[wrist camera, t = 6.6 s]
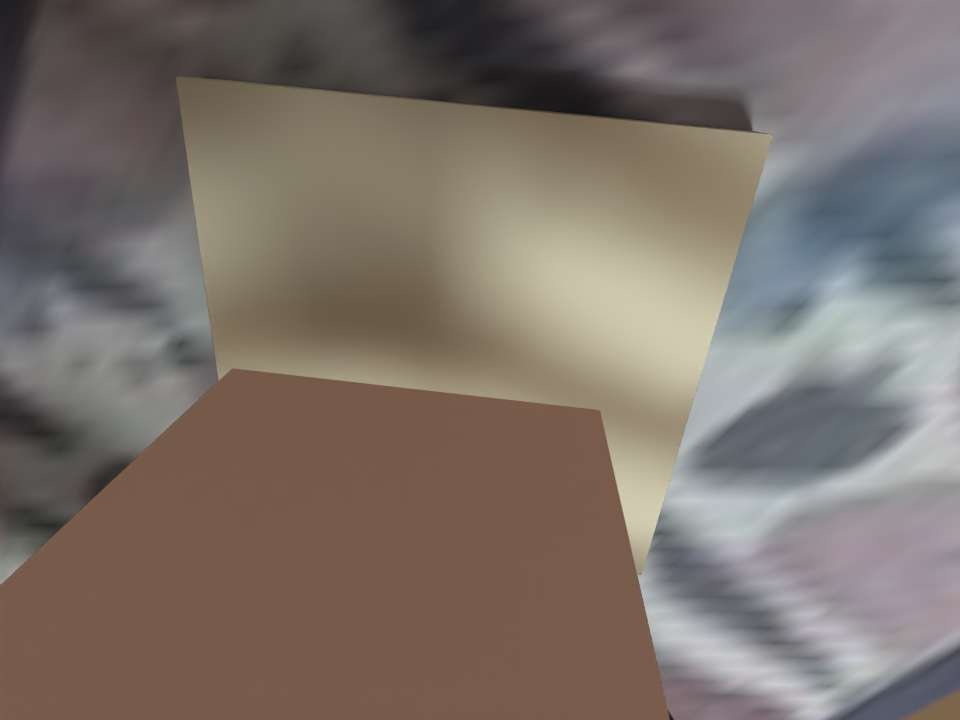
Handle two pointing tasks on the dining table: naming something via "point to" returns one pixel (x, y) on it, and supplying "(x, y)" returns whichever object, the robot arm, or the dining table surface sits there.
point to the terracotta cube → (341, 568)
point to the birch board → (472, 253)
